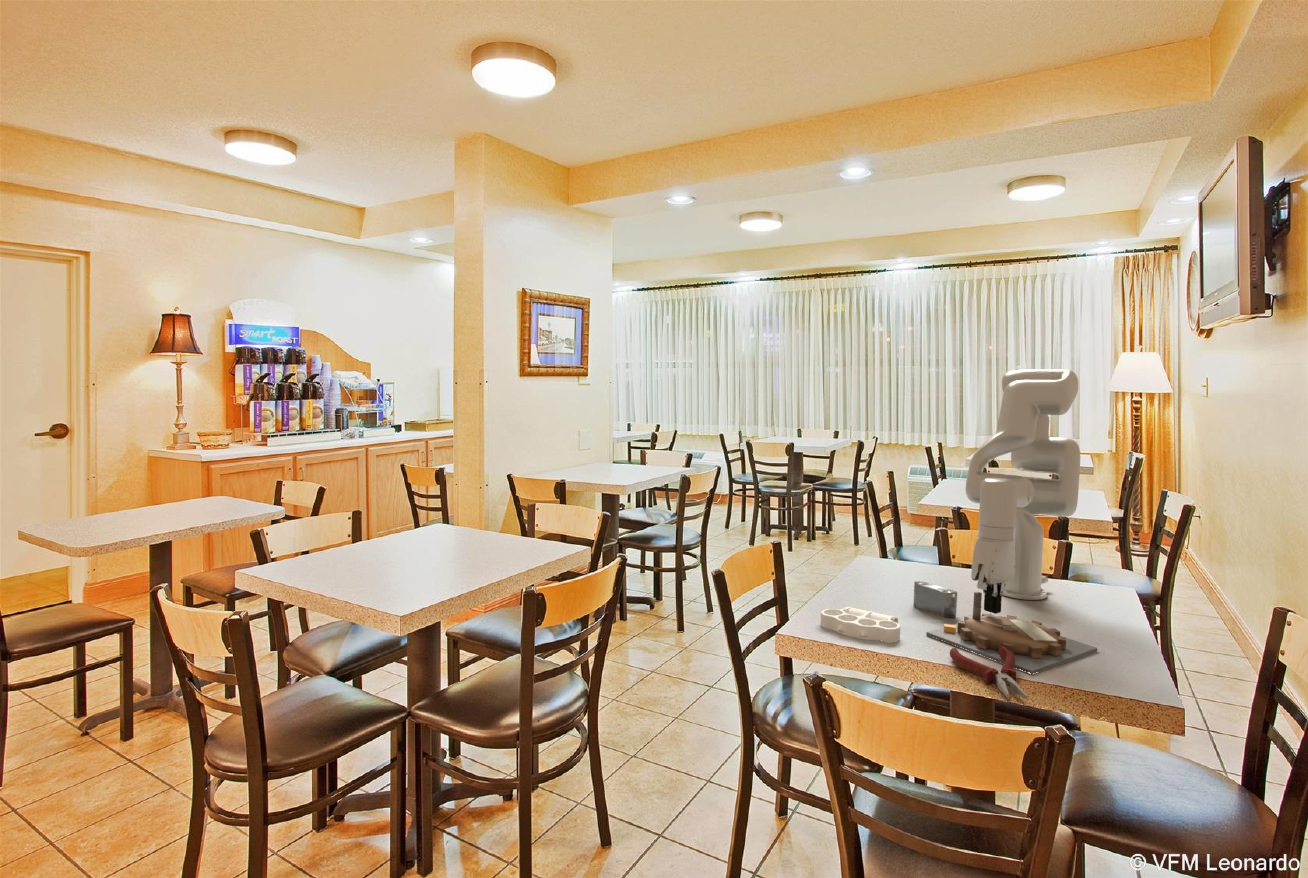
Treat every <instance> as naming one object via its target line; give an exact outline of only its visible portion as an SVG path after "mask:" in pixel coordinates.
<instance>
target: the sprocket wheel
mask: <svg viewBox="0 0 1308 878" xmlns="http://www.w3.org/2000/svg"><path fill="white" fill-rule="evenodd" d="M982 595H983V593H982V592H980V591H973V601H972V602H973V605H972V606H973V607H972V615H971V614H967V615H965V616H964V618H963V620H960V619H958V620H957V624H958V627H957V631H958V632H960V637H961V638H962V639H964V640H971V641H973V642H975V643H976V646H977V647H980V648H982V649H988V648H990V649H994V650H998V651H999V646H1004V647H1005V648H1007V649H1008V650H1009V651H1010V652H1011V653H1012V654H1013V655H1014V654H1021V655H1029V656H1030V657H1032V658H1042V655H1044V654H1051V655H1054V656H1058V655H1060V654H1061V649H1064V650H1066V638H1067V637H1064V636H1062V637H1060V636H1061V631H1060V630H1058V629H1057V628H1053V627H1052V628H1048V627H1046V626H1044V625H1043V622H1040V621H1036V620H1029V619H1020V618H1017V616H1015V615H1009V614H1007V615H1006V616H1002V615H1001V616H1000V615H995V616H993V615H994V614H993V613H982V597H983V596H982Z"/></svg>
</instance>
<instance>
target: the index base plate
mask: <svg viewBox="0 0 1308 878" xmlns="http://www.w3.org/2000/svg"><path fill="white" fill-rule="evenodd" d="M992 615H993V616H996V614H995V615H994V614H992ZM957 627H958V623H956V624H950V623H949V624H948V623H944V624H943V627H940V628H936V629H932V630H929V631H926V635H928V636H927V637H929V636H930V638H932V637H934V638H937V639H939V640H938V641H940V640H943V641H945V642H947V643H946V644H948V643H949V644H948V645H950V644H953V645H956V646H958V647H962V648H964V649H967V650H969V651H973V652H975V653H977V654H981V655H983V656H985V657H988V658H991V659H993V660H996V661H997V662H996V661H995V662H996V663H998V662H1001V663H1003V664H1002V665H1004V662H1005V661H1004V660H1003V659H1002V658H1001V657H1000V655H999V651H998V650H994V649H990V648H988V649H982V648H980V647H977V646H976V643H975V642H973V641H971V640H964V639H962V638H961V637H960V632H958V631H957ZM926 635H925V636H926ZM1060 637H1063V636H1061V635H1060ZM934 638H933V639H934ZM937 639H936V640H937ZM945 642H944V643H945ZM953 645H952V646H953ZM956 646H955V647H956ZM958 647H957V648H958ZM964 649H963V650H964ZM969 651H968V652H969ZM1097 652H1098V647H1097V646H1093V645H1091V644H1090V645H1089V644H1086V643H1084V642H1080V641H1077V640H1074V639H1072V638H1071V639H1070V638H1068V637H1066V650H1064V649H1061V654H1060V655H1058V656H1054V655H1051V654H1044V655H1042V658H1032V657H1030V656H1029V655H1021V654H1014V658H1015V666H1014V668H1017V669H1021V670H1023V671H1026V672H1030V673H1031V674H1033V673H1036V672H1039V673H1041V672H1040V671H1042V672H1044V671H1043V670H1045V671H1047V670H1049V669H1053V668H1055V667H1058V666H1061V665H1064V664H1066V663H1070V662H1072V661H1074V660H1078V659H1081V658H1083V657H1086V656H1089V655H1091V654H1092V655H1093V654H1094V653H1097ZM977 654H976V655H977ZM985 657H984V658H985ZM988 658H987V659H988ZM993 660H992V661H993ZM1001 663H1000V664H1001ZM1014 668H1013V669H1014ZM1017 669H1016V670H1017ZM1046 669H1047V670H1046ZM1036 674H1037V673H1036Z"/></svg>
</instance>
